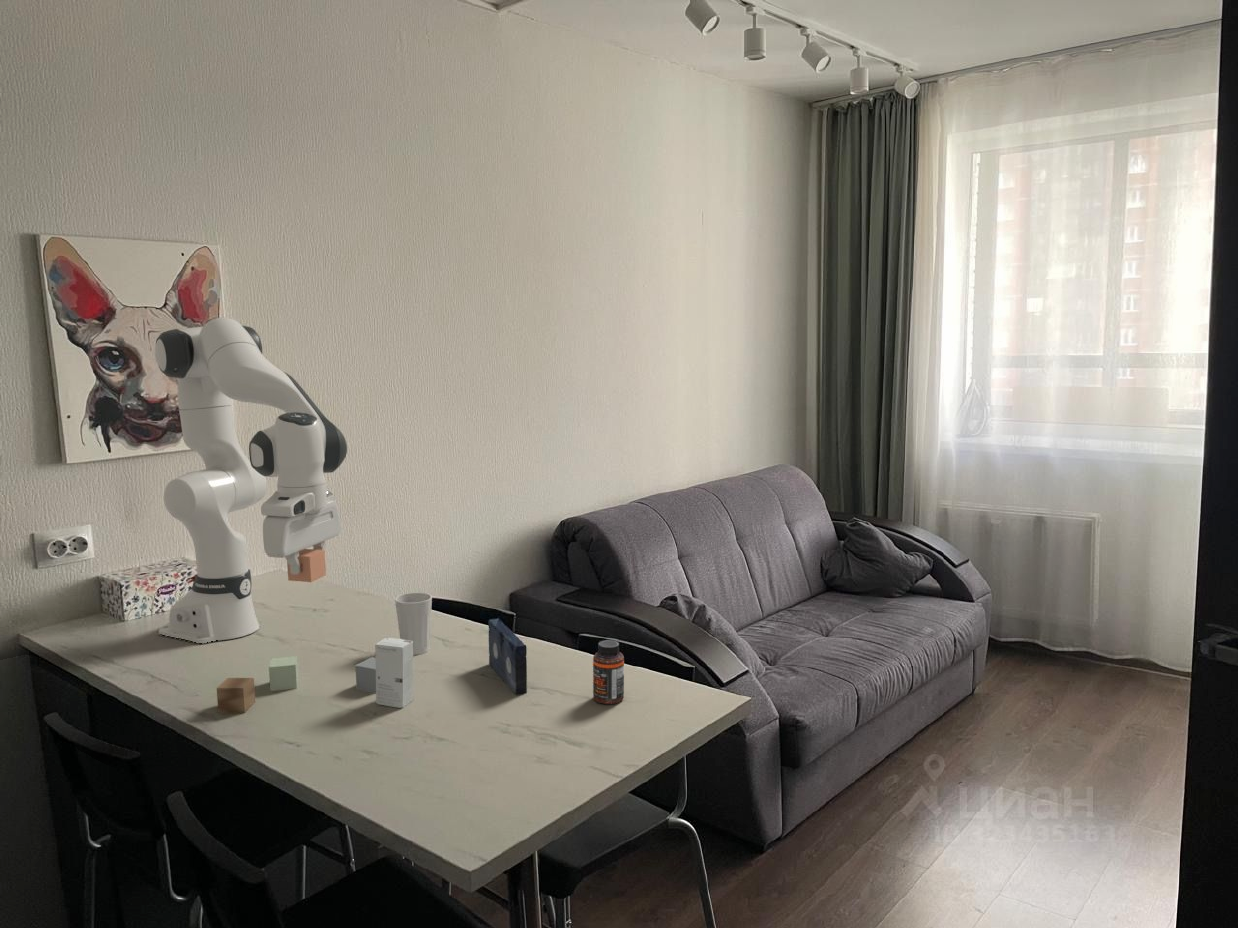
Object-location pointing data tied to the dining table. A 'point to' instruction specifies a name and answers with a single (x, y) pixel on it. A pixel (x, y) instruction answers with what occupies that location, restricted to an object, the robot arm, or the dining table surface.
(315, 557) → the terracotta cube
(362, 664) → the slate cube
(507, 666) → the vhs cassette tape
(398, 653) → the skincare box
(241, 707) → the walnut cube
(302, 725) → the dining table surface
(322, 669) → the dining table surface
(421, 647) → the cup
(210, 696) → the dining table surface
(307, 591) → the dining table surface
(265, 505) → the robot arm
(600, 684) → the supplement bottle
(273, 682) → the sage cube
